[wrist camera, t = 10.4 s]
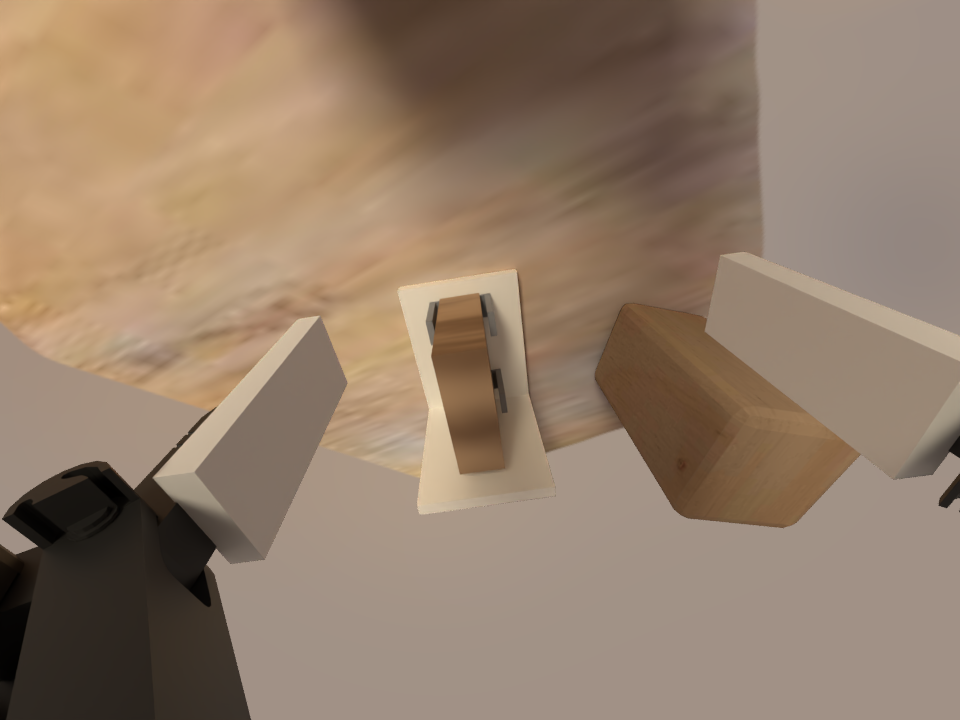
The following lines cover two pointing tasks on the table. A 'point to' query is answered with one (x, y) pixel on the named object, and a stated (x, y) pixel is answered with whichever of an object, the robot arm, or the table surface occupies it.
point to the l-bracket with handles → (515, 412)
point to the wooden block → (714, 423)
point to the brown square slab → (467, 384)
